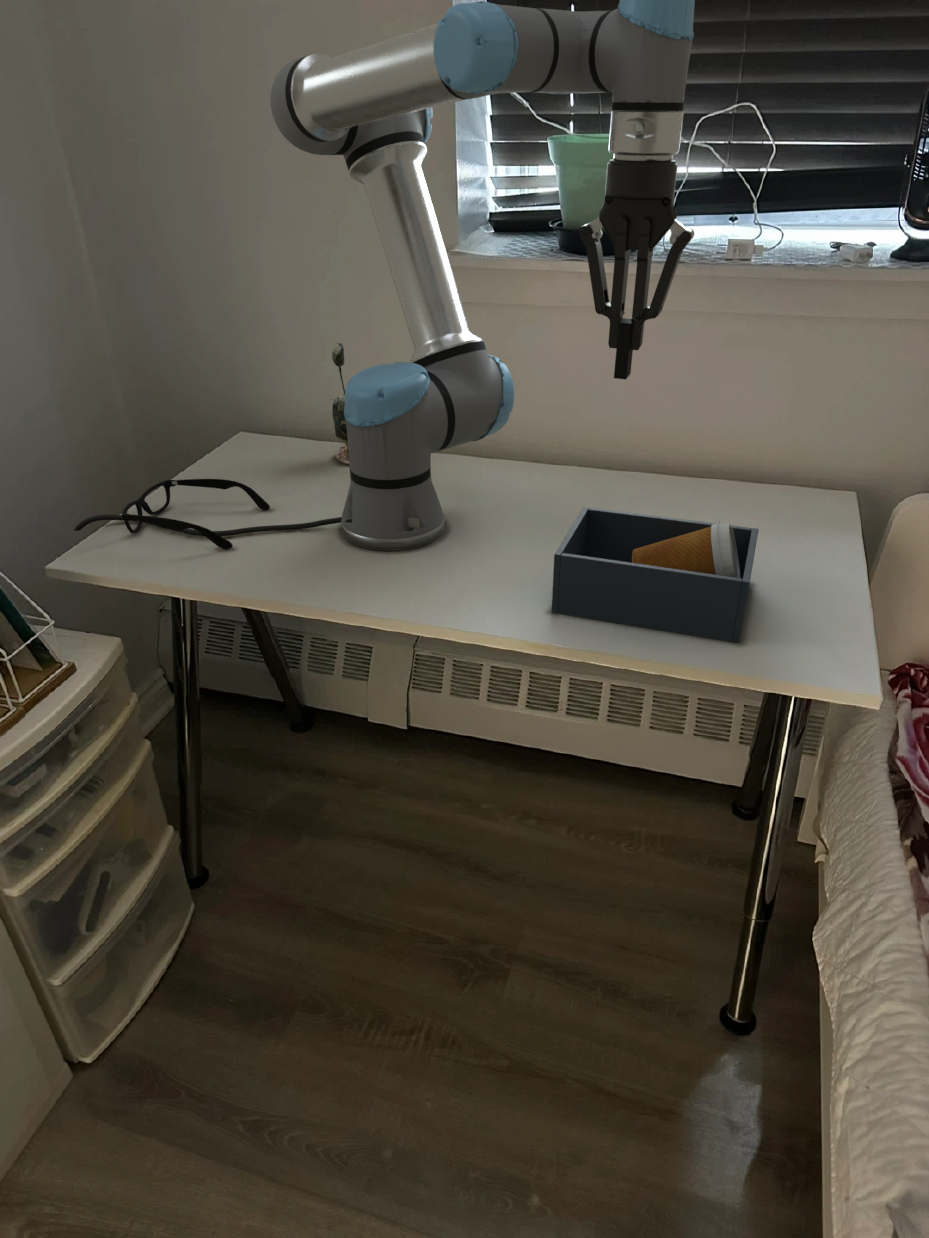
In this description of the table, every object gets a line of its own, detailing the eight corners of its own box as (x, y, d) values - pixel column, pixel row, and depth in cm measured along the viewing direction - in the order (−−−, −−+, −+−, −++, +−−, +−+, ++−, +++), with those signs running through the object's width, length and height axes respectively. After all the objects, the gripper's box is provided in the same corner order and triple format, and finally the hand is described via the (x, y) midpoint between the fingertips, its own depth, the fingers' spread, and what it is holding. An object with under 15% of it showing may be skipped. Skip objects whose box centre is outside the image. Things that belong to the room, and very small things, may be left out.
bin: (551, 612, 110) (554, 554, 106) (580, 560, 123) (583, 506, 119) (739, 643, 103) (749, 582, 99) (749, 584, 116) (758, 528, 112)
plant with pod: (322, 469, 155) (311, 352, 145) (342, 447, 165) (334, 337, 155) (366, 472, 154) (359, 355, 144) (385, 450, 163) (379, 339, 153)
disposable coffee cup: (638, 617, 109) (739, 603, 104) (624, 541, 107) (725, 524, 103) (650, 602, 117) (743, 589, 113) (637, 531, 116) (731, 515, 111)
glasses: (169, 505, 143) (162, 476, 141) (272, 507, 140) (267, 477, 137) (116, 548, 129) (107, 517, 127) (229, 552, 126) (223, 519, 123)
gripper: (575, 158, 95) (562, 378, 107) (699, 161, 91) (671, 390, 103) (591, 154, 101) (577, 363, 113) (708, 157, 97) (681, 373, 109)
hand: (622, 375), depth 108 cm, fingers closed
